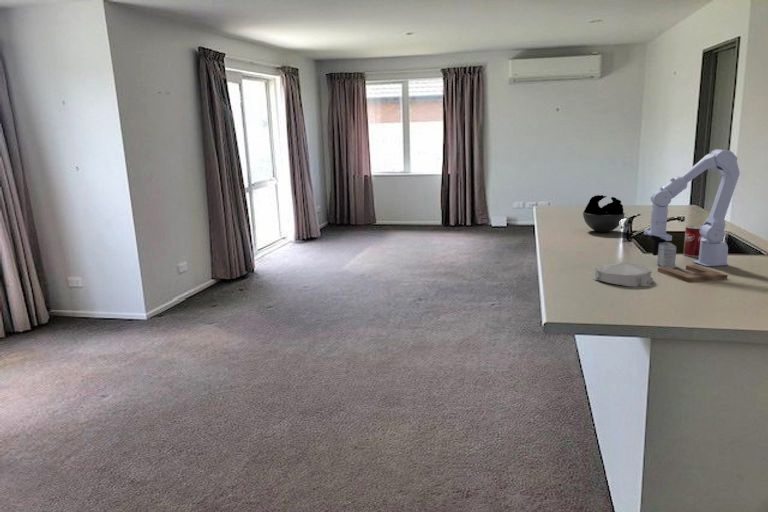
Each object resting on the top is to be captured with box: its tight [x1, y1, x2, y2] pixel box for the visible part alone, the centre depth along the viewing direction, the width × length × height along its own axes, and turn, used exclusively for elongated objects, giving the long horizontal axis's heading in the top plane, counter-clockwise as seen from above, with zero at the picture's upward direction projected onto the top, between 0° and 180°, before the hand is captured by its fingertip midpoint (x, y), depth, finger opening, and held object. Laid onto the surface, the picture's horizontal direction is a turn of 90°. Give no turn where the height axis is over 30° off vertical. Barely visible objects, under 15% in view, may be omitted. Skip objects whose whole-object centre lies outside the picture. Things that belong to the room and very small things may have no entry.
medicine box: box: [656, 241, 677, 269], centre depth 224 cm, size 8×4×9 cm, turn 170°
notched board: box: [657, 264, 729, 283], centre depth 211 cm, size 16×16×2 cm
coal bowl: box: [582, 194, 626, 233], centre depth 297 cm, size 20×20×19 cm
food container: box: [592, 261, 654, 288], centre depth 206 cm, size 20×20×7 cm
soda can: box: [683, 225, 702, 258], centre depth 241 cm, size 7×7×12 cm
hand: (655, 255), depth 230 cm, fingers closed
